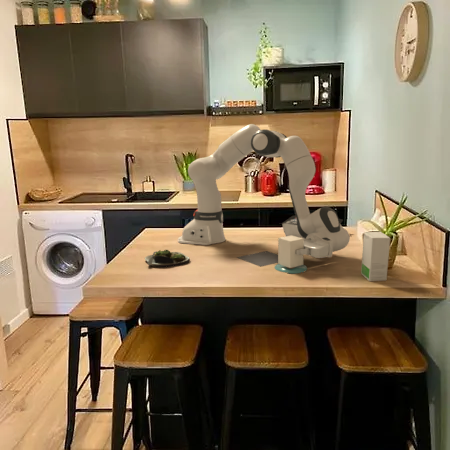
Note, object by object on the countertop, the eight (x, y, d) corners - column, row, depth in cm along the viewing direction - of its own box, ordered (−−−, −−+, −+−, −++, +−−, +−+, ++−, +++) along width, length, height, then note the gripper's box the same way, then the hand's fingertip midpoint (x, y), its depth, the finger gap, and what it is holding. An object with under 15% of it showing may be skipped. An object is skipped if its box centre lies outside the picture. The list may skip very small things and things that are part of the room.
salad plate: (136, 258, 196) (136, 247, 195) (177, 252, 204) (176, 242, 203) (150, 270, 179) (149, 259, 178) (194, 264, 187) (193, 252, 186)
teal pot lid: (273, 273, 172) (273, 263, 172) (275, 263, 184) (275, 254, 183) (306, 274, 170) (306, 264, 169) (307, 264, 182) (307, 255, 181)
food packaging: (343, 218, 231) (328, 227, 212) (343, 233, 232) (328, 243, 213) (295, 214, 243) (277, 222, 224) (295, 228, 245) (277, 238, 226)
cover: (289, 267, 172) (290, 241, 170) (278, 263, 178) (278, 237, 175) (303, 264, 176) (303, 238, 174) (291, 260, 181) (291, 235, 179)
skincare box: (360, 274, 169) (362, 231, 166) (378, 273, 170) (380, 231, 166) (369, 281, 161) (371, 237, 158) (388, 280, 162) (390, 236, 158)
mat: (260, 267, 179) (260, 266, 179) (236, 258, 192) (236, 257, 192) (292, 260, 188) (292, 259, 188) (266, 251, 201) (266, 250, 201)
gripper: (297, 231, 190) (271, 236, 183) (335, 241, 174) (308, 247, 166) (297, 246, 192) (271, 252, 184) (335, 257, 175) (307, 264, 168)
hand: (289, 250), depth 175 cm, fingers closed on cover, 6 cm apart
